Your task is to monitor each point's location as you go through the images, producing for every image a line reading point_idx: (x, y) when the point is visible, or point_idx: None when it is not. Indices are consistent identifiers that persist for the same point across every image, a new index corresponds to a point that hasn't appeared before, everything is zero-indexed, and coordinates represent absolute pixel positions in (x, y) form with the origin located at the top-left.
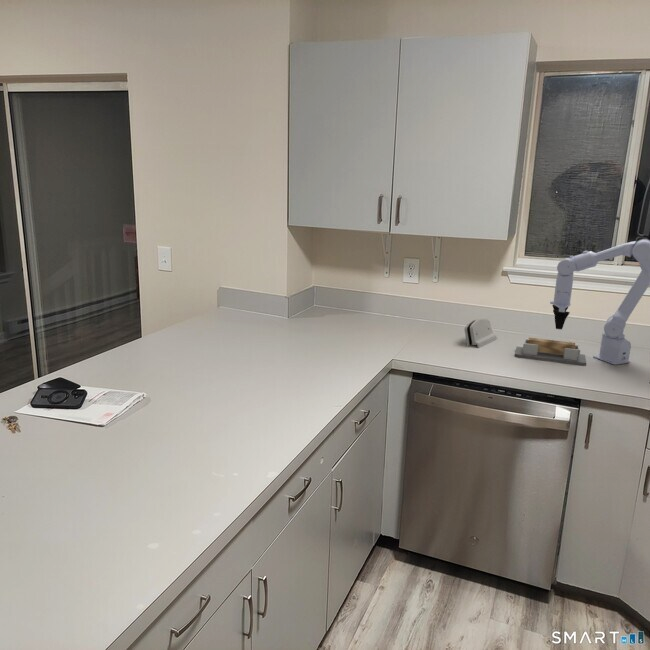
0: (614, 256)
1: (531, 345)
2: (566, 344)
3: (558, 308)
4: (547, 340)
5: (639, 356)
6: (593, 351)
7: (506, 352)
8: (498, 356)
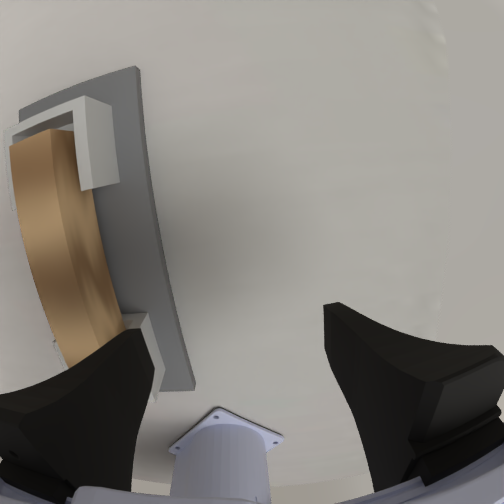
0: None
1: (10, 173)
2: (64, 357)
3: (394, 433)
4: (55, 256)
5: (312, 477)
6: (308, 399)
7: (65, 57)
8: (10, 61)
